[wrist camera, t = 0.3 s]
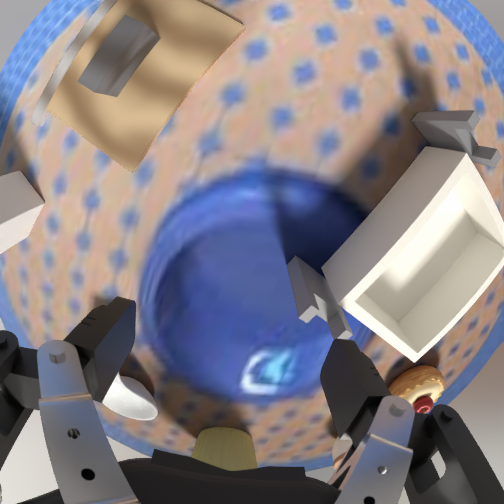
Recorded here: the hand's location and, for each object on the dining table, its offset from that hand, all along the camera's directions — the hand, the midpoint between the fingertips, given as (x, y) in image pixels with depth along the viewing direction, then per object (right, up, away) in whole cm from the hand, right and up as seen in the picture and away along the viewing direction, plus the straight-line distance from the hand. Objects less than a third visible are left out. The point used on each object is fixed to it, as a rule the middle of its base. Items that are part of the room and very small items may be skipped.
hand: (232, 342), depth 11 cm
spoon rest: (-20, -16, +31) cm, 40 cm away
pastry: (+30, -21, +32) cm, 49 cm away
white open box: (+20, +5, +21) cm, 30 cm away
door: (-12, +24, +14) cm, 31 cm away
